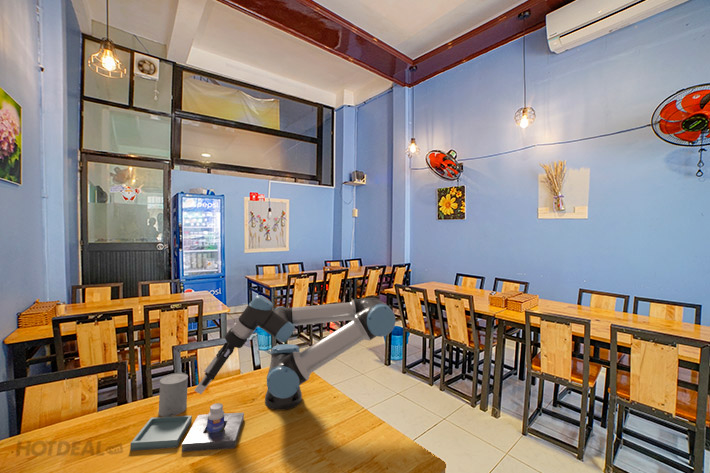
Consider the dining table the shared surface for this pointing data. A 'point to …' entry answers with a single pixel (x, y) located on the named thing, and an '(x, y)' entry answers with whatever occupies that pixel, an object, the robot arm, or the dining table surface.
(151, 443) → the tray
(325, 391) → the dining table surface
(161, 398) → the gray cylinder
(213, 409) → the pill bottle
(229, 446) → the socket plate
